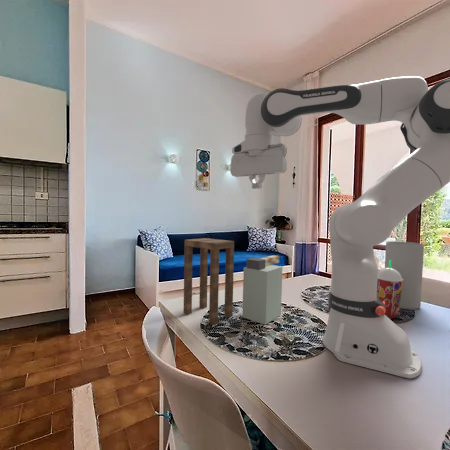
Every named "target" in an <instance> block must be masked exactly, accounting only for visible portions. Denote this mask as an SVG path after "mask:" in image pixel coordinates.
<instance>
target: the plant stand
mask: <svg viewBox="0 0 450 450" xmlns="http://www.w3.org/2000/svg"><path fill="white" fill-rule="evenodd" d="M183 242H184V247H183V248H184V249H183V251H184V252H183V263H184V264H183V265H184V266H183V269H184V270H183V314H184V315H187V316H189V315H192V314H193V313H192V311H193V310H192V309H193V307H192V306H193V300H192V299H193V253H194V251H193V249H194V248H197V249H198V248H199V249H200V250H199V252H200V254H199V301H198V302H199V304H198V305H199V307H198V308H201V309H206V308H207V307H208V304H209V307H208V308H209V309H208V310H209V311H208V313H209V314H208V315H209V316H208V317H209V318H208V319H209V320H208V323H209V324H210V325H213V326H214V325H217V324H218V323H219V322H218V321H219V286H220V285H219V281H220V279H219V278H220V277H219V276H220V275H219V274H220V273H219V272H220V250H223V249H225V268H224V269H225V270H224V271H225V273H224V274H225V276H224V316H225V317H227V318H231V317H233V309H234V305H233V304H234V267H235V266H234V264H235V260H234V259H235V258H234V256H235V241H234V240H225V239H217V238H216V239H215V238H208V237H201V238H191V239H189V238H188V239H184V241H183ZM209 250H210V253H209ZM209 254H210V257H209ZM209 259H210V261H209ZM208 263H209V266H208ZM208 269H209V270H208ZM208 271H209V303H208Z"/></svg>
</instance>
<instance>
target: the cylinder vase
mask: <svg viewBox="0 0 450 450" xmlns="http://www.w3.org/2000/svg"><path fill="white" fill-rule="evenodd" d="M424 251H425V244H424V243H419V242H418V243H417V242H412V241H411V242H410V241H396V240H395V241H385V255H384V258H385V259H384V268H387V267H389V260H391V268H393V269H395V270H397V271H398V272H399V273H400V274H401V277H402V279H403V284H402V291H401V299H400V307H399V309H403V310H409V311H410V310H413V311H414V310H419V309H420V308H421V305H422V304H421V302H422V289H423V288H422V287H423V286H422V285H423V271H424V270H423V269H424V253H425V252H424Z"/></svg>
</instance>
